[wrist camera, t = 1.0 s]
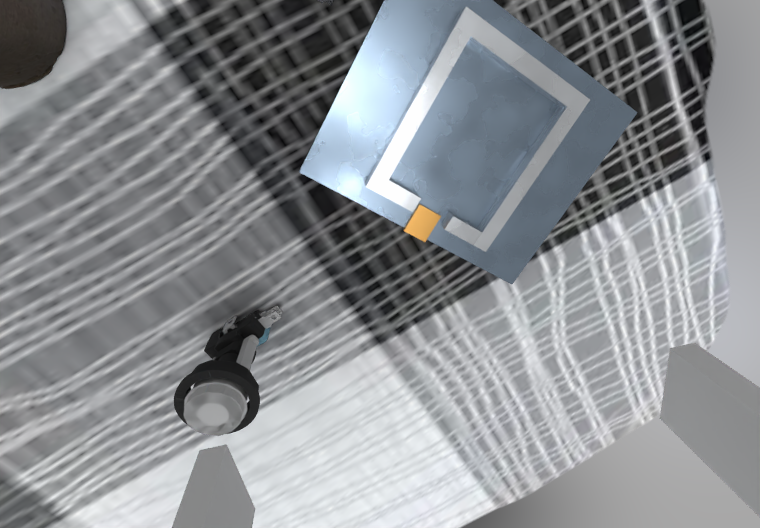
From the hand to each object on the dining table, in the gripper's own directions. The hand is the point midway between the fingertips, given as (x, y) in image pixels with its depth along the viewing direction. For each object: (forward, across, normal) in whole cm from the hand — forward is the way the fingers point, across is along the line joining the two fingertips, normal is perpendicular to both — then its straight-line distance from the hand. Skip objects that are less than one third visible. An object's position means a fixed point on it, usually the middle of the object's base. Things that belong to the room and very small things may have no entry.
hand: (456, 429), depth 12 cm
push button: (+22, -12, -7) cm, 27 cm away
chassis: (+22, +8, +4) cm, 24 cm away
